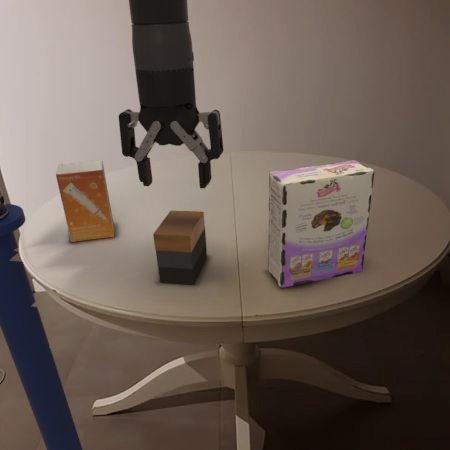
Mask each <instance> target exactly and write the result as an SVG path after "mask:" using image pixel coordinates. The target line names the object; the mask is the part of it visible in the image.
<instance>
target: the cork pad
mask: <svg viewBox="0 0 450 450" xmlns="http://www.w3.org/2000/svg"><path fill="white" fill-rule="evenodd" d="M205 223H206V222H205V212H204V211H193V210H170V211H168V214H167V215H166V216H165V217H164V219H163V220H162V221H161V223H160V224H159V225H158V227H157V228H156V229H155V231H154V232H153V234H152V235H153V242H154V250H155V252H156V251H172V252H190V253H191V252H192V250H193V248H194V246H195V245H196V243H197V241H198V239H199V237H200V235H201V234H202V232H203V230H204V228H205V229H206V224H205Z"/></svg>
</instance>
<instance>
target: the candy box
mask: <svg viewBox="0 0 450 450" xmlns="http://www.w3.org/2000/svg"><path fill="white" fill-rule="evenodd" d="M375 173H376V172H375V169H373V168H371V167H369V166H367V165H365V164H363V163H361V162H359V161H358V160H355V159H353V160H347V161H341V162H334V163H327V164H320V165H312V166H307V167H299V168H292V169H284V170H276V171H269V175H268V181H269V182H268V183H269V184H268V189H269V190H268V259H267V260H268V263H267V264H268V265H267V267H268V272H269V273H270V275H271V278H272V279H273V280H274V281H275V283H276V284H277V285H278V287H279V288H283V289H284V288H289V287H294V286H299V285H303V284H308V283H309V284H310V283H314V282H319V281H325V280H328V279H333V278H339V277H342V276H347V275H354V274H357V273H362V272H363V269H364V260H365V251H366V244H367V236H368V235H367V234H368V228H369V220H370V219H369V218H370V211H371V205H372V204H371V203H372V196H373V186H374V180H375Z"/></svg>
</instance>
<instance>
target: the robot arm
mask: <svg viewBox="0 0 450 450" xmlns="http://www.w3.org/2000/svg"><path fill="white" fill-rule="evenodd" d="M128 6H129V7H128V8H129V15H130V22H131V47H132V55H133V56H132V57H133V62H134V70H135V78H136V85H137V87H136V88H137V94H138V101H139V108H140V109H139V111H133V110H132V109H130V108H127V109H125V110H123V111H122V112H120V113H119V114H118V126H119V136H120V145H121V147H120V148H121V154H122V156H124V157H127V158H128V157H130V158H132V159H134V160H135V162H136V167H137V174H138V179H139V181H140V183H142V184H143V185H142V186H143V187H150V186H151V185H153V174H152V166H151V158H150V157H148V156H149V153H150V152H151V150H152V149H153V148H154V146H155V144H158V146H167V145H171V146H175V147H180V146H182V145H185V146H186V148H187V149H188V151H190V152H192V153H193V155H194V156H195V157H196V159H197V160H198V161H199V162H198V163H197V167H198V183H199V189H206V188H207V186H208V185H209V184H210V182H211V180H212V161H213V160H218V159H220V157H221V156H222V154H223V153H224V141H223V130H222V121H221V120H222V119H221V113H220V110H218V109H213V110H212V111H206V112H200V111H199V109H198V107H197V98H196V84H195V83H196V81H195V68H194V66H195V65H194V62H195V57H194V55H195V54H194V52H193V41H192V34H191V31H190V23H189V9H188V7H189V6H188V0H128ZM138 122H139V124H140V125H141V126H142V127H143V129H144V130H145V131H146V134H145V136H144V138H143V139H142V141H141V143H140V145H139V147H138V146H137V144H136V143H137V142H136V131H135V128H136V127H137V126H138ZM200 122H201V123H202V125H203V127H204V129H205V130H207V131H208V136H209V144H210V145H209V146H210V148H208V146H207V145H206V144H205V142H204V141H203V140H204V139H203V138H202V137H201V135H200V134H199V133H198V131H197V130H196V128H197V126H198V125H199V124H200ZM6 204H7V203H6V200H5V196H4V194H3V191H2V189H1V187H0V220H2V219H4V218H5V217H7V216H8V214H9V212H8V209H7V208H6Z"/></svg>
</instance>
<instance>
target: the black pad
mask: <svg viewBox="0 0 450 450" xmlns="http://www.w3.org/2000/svg"><path fill="white" fill-rule="evenodd" d="M207 259H208V251H207V243H206V244H205V246H204V248H203V250H202V252H201V254H200V256H199V258H198V260H197V262H196V264H195V266H194V268H193V269H185V268H169V267H158V266H157V270H158V276H159V283H164V284H178V285H179V284H180V285H192V286H193V285H196V282H197V280H198V278H199V276H200V273H201V272H202V269H203V267H204V265H205V263H206V261H207Z"/></svg>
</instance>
